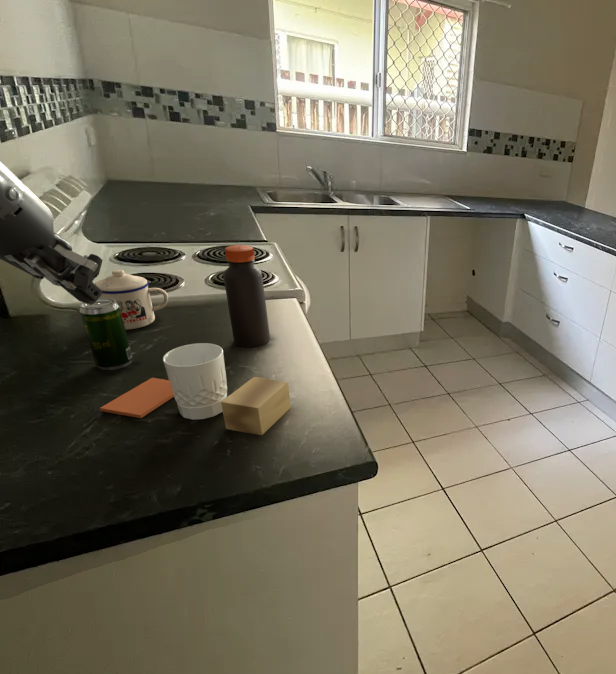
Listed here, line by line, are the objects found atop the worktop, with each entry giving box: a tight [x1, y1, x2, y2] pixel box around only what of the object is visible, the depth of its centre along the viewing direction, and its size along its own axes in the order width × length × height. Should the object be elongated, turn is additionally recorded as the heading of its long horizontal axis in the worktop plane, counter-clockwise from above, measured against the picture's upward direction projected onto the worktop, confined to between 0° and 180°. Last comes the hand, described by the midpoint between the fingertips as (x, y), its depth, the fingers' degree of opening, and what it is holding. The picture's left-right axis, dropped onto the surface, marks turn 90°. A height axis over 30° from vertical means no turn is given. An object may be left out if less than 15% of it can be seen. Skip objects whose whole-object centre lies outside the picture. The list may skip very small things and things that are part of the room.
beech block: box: [221, 376, 292, 436], centre depth 75 cm, size 6×8×5 cm
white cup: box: [162, 342, 228, 421], centre depth 75 cm, size 8×8×10 cm
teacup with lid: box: [94, 269, 169, 331], centre depth 101 cm, size 12×9×12 cm
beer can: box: [79, 298, 134, 371], centre depth 84 cm, size 5×5×12 cm
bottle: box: [222, 244, 271, 348], centre depth 96 cm, size 7×7×20 cm
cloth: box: [99, 377, 175, 419], centre depth 78 cm, size 7×10×1 cm
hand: (92, 297), depth 60 cm, fingers closed
